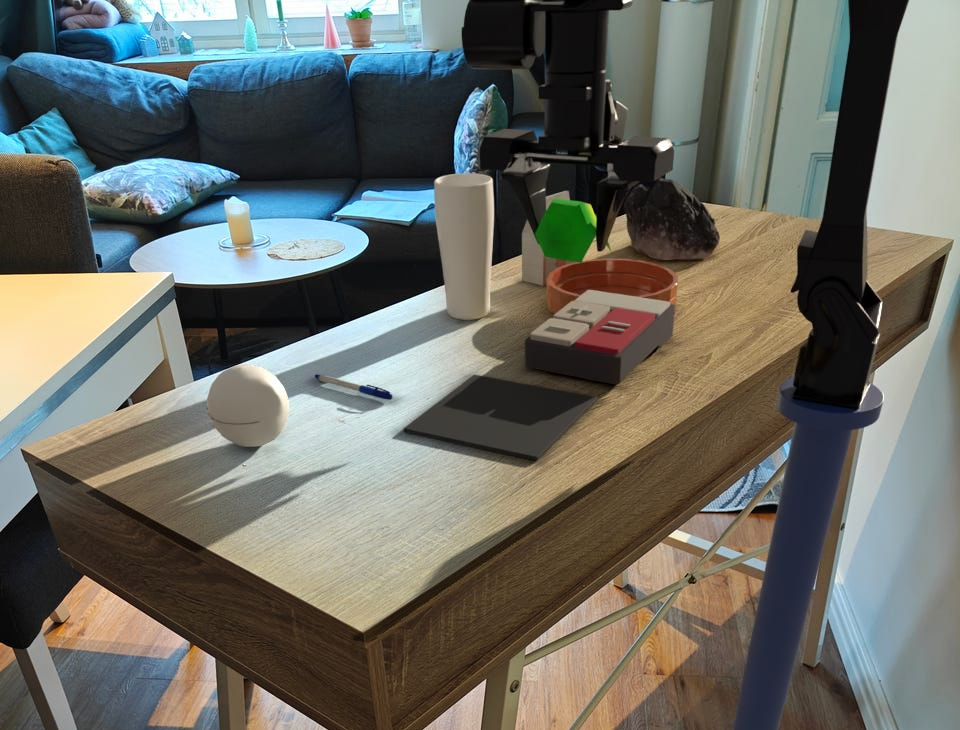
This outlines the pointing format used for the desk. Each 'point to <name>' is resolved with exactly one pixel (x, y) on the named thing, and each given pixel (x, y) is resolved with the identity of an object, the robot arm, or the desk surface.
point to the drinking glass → (465, 241)
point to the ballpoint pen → (356, 387)
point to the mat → (502, 416)
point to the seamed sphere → (248, 405)
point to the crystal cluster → (669, 222)
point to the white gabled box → (538, 252)
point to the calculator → (600, 336)
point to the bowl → (610, 281)
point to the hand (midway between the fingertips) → (571, 247)
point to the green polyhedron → (567, 230)
